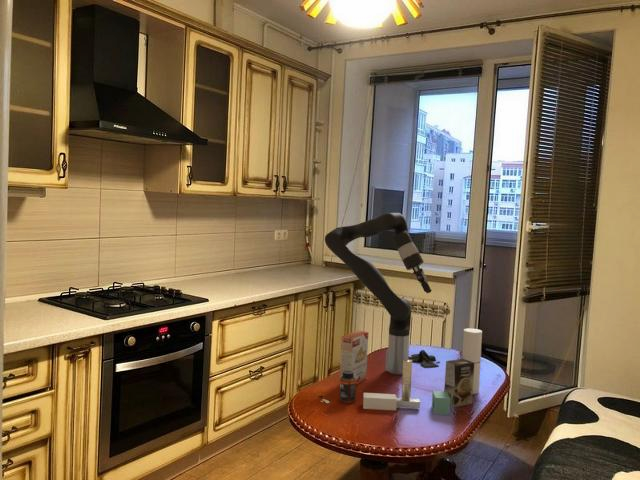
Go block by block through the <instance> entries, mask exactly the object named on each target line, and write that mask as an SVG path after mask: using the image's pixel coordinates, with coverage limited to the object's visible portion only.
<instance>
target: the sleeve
mask: <svg viewBox="0 0 640 480" xmlns="http://www.w3.org/2000/svg"><path fill="white" fill-rule="evenodd" d="M397 398H398V397H397V395H396V394H395V393H393V394H391V393H375V392H363V398H362V399H363V401H362V408H363V409H364V410H365V409H366V410H381V411H397V407H396V405H397Z"/></svg>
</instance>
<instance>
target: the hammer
mask: <svg viewBox="0 0 640 480" xmlns="http://www.w3.org/2000/svg"><path fill="white" fill-rule="evenodd" d="M412 369H413V363H412V360H409V359H405V360H403V374H402V379H401V380H402V382H401V383H402V384H401V397H396V398H397V405H396V408H404V409H405V408H406V409H421V401H420V398H412V397H411V396H412V374H413V373H412V371H413V370H412Z"/></svg>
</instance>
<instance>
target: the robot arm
mask: <svg viewBox="0 0 640 480" xmlns="http://www.w3.org/2000/svg"><path fill="white" fill-rule="evenodd" d="M387 231H394V235H393V237H392V242H393V244H394V245H395V247H396V249H397V251H398V254H399V257H400V259H401V261H402V263H403V266H404V267H405V269H406V270H407V271H411V270H412V271H413V272H412V274H413V275H414V277H415V279H416V281H417V282H418V283H419V284H420V286H421V287H422V289H423V291H424V292H425V293H426V294H430V293H432V289H431V287H430V285H429V282H428V279H427V276H426V274H425V271H424V269H423V268H422V267H420V266H421V265H423V263H424V259H423V257H422V256H421V253H420V252H419V249H418V248H417V246H416V245H415V243H414V241H413V240H412V237H411V235H410V234H409V233H410V232H409V229H408V225H407V222H406V218H405V217H404V216H403V215H402V213H400V212H386V213H384V214H381V215H378V217H375V218H371V219H368V220H366V221H363V222H361V223H357V224H354V225H347V226H346V225H345V226H339V227H336V228H334V229H333V230H331V231H330V232H328V233H326V235H324V243H325V244H326V246H327V248H328V249H329V250H330V252H332V253H333V254H334V255H335V256H336V257H338V258H339V260H341V261H342V262H343V263H344V264H345V265H346V266H347V268H349V269H350V270H351V272H352V273H353V274H354V276H356V278H357V279H358V280H359V281H360V282H361V283H362V284H363V285H364V286H365V287H366V288H367V289H368V291H370V293H372V295H374V296H375V298H377V299H378V301H379V302H380V303H381V304H382V306H383V307H384V308H385V310H386V312H388V314H389V316H390V317H389V318H390V319H389V327H388V344H387V345H388V347H387V348H388V349H386V350H385V371H386V372H387V373H389V374H392V375H398V376H399V375H401V376H403V360H405V359H408V358H409V357H410V356H409V354H410V333H411V332H410V331H411V323H412V321H411V320H412V305H411V303H410V301H409V300H408V299H407V298H405V297H400V296H398V295H397V294H396V293H395V292H394V291H393V290H392V289H391V287H390V286H389V284H388V282H387V280H386V279H385V277H384V276H383V275H382V272H381V271H380V270H379V269H378V268H377V267H376V266H375V265H374V264H373V263H372V262H371V261H370V260H368V259H366V258H364V257H362V256H359V255H358V254H356V253H354V252H352V250H351V249H350V248H348V246H347V245H348V244H349V243H351V242H352V241H353V242H354V240H357V239H361V238H371V237H375V236H378V235H380V234H382V233H384V232H387Z"/></svg>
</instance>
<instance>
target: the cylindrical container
mask: <svg viewBox="0 0 640 480" xmlns="http://www.w3.org/2000/svg"><path fill="white" fill-rule="evenodd" d="M482 338H483V330H481V329H478V328H471V327H470V328H469V327H467V328H463V338H462V339H463V341H462V342H463V343H462V358H461V359H465V360H468V361H471V362H473V363H474V378H473V395H476V394H479V392H480V380H481V379H480V376H481V360H482V359H481V358H482V344H483V343H482V340H483V339H482Z"/></svg>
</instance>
